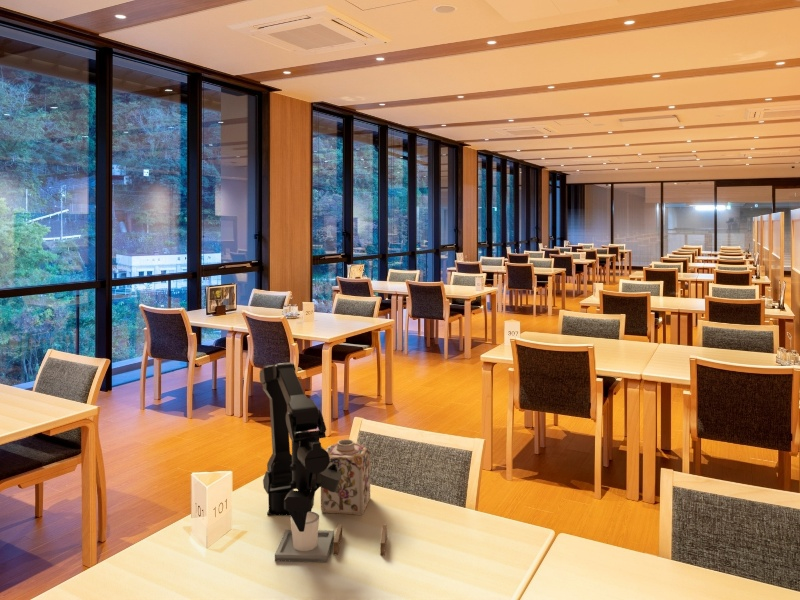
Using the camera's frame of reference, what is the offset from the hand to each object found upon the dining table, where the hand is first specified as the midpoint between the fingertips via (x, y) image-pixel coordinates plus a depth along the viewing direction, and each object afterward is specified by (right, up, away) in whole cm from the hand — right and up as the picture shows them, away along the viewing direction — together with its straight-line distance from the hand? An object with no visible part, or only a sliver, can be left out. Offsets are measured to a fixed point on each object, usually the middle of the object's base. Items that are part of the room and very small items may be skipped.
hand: (305, 522), depth 154 cm
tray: (0, -7, +1) cm, 7 cm away
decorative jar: (+8, -4, +25) cm, 26 cm away
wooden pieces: (+13, -6, +3) cm, 15 cm away
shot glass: (0, -6, +1) cm, 6 cm away
